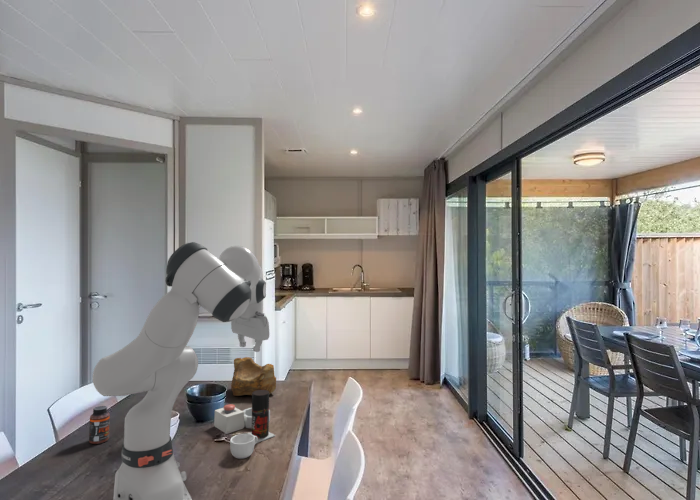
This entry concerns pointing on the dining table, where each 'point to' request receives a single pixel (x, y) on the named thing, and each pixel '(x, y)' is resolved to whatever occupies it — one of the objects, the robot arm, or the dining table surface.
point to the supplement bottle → (99, 425)
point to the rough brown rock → (252, 377)
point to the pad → (265, 437)
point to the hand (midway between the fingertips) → (249, 349)
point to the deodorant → (260, 413)
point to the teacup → (242, 445)
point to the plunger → (229, 408)
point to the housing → (233, 420)
